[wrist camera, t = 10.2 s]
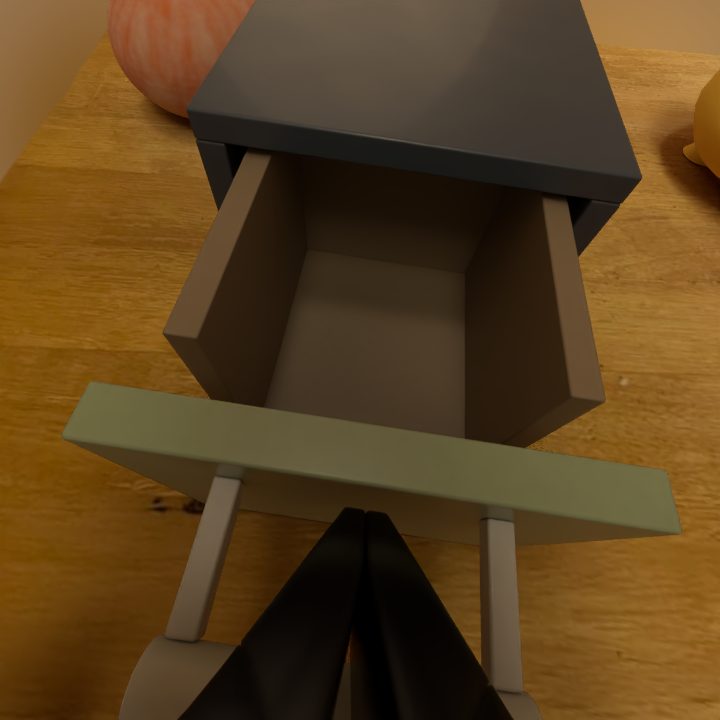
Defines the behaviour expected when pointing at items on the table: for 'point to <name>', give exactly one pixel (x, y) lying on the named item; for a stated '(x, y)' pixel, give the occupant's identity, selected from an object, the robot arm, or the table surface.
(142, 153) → the table surface
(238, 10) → the tomato
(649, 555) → the table surface
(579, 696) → the table surface
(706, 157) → the teapot
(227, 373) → the drawer
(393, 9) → the cabinet
